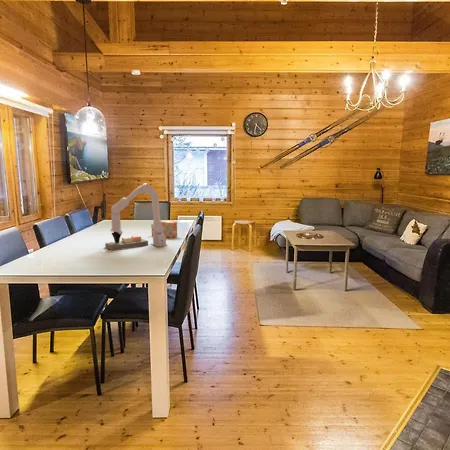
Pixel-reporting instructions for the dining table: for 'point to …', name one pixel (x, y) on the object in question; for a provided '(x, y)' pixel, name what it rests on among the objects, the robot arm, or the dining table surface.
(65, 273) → the dining table surface
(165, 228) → the stack of blocks
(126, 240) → the cream key
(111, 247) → the board
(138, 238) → the terracotta key
